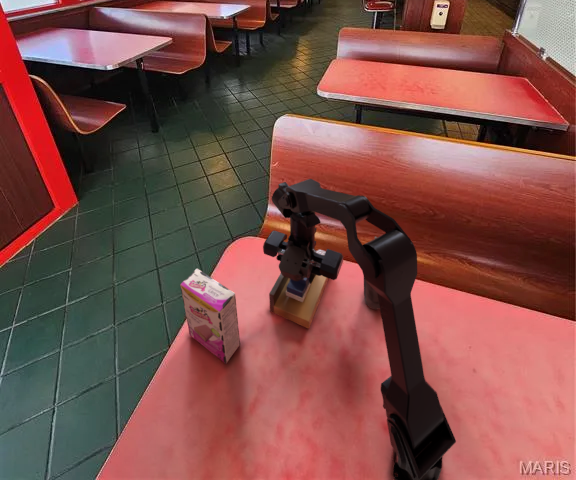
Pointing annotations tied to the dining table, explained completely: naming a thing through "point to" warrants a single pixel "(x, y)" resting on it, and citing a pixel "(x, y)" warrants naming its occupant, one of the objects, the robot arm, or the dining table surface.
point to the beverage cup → (370, 296)
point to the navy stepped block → (298, 288)
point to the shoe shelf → (296, 301)
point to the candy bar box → (211, 314)
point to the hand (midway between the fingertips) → (302, 278)
